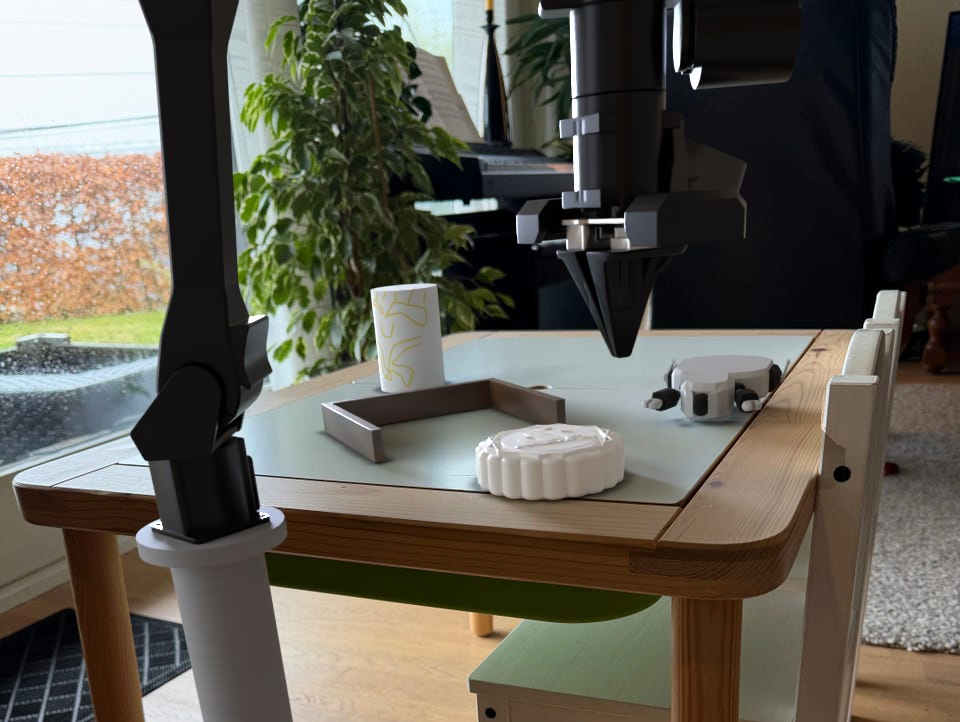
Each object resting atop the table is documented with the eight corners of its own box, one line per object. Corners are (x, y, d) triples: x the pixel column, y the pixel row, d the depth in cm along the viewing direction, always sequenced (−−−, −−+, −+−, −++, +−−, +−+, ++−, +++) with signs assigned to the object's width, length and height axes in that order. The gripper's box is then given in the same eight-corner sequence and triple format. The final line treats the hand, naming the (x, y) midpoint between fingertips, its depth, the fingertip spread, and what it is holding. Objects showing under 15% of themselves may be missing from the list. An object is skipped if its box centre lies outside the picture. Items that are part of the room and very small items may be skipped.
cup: (370, 393, 123) (358, 292, 118) (399, 380, 130) (389, 284, 125) (429, 393, 120) (419, 289, 115) (455, 380, 127) (447, 282, 122)
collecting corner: (566, 429, 97) (565, 398, 96) (375, 463, 90) (371, 430, 89) (495, 404, 111) (493, 377, 109) (324, 432, 104) (320, 403, 102)
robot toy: (764, 438, 91) (790, 394, 103) (765, 390, 89) (792, 350, 101) (636, 434, 96) (674, 392, 108) (634, 388, 94) (674, 351, 106)
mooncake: (589, 454, 87) (588, 413, 86) (650, 486, 77) (650, 441, 75) (460, 473, 84) (456, 432, 83) (505, 510, 74) (502, 463, 72)
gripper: (829, 72, 55) (810, 356, 62) (645, 107, 71) (645, 331, 77) (663, 77, 51) (661, 381, 58) (507, 113, 67) (519, 349, 73)
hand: (621, 357), depth 67 cm, fingers closed
